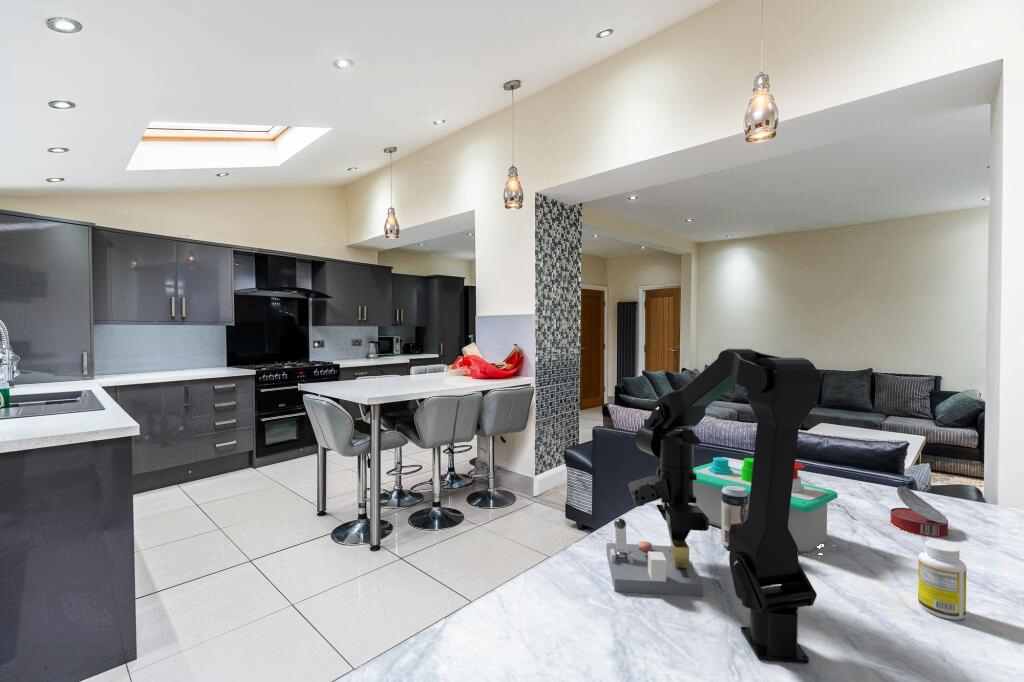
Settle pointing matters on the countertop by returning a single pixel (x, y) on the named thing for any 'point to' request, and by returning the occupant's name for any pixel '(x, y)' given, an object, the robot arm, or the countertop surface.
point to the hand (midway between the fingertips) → (676, 549)
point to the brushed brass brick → (680, 553)
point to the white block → (657, 566)
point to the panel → (636, 576)
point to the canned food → (918, 516)
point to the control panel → (712, 477)
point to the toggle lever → (620, 538)
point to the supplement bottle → (942, 581)
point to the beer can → (732, 509)
